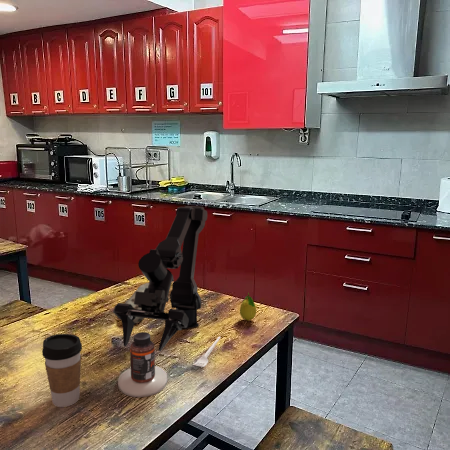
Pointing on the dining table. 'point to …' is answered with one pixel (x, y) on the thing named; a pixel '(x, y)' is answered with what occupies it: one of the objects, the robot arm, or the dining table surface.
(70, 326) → the dining table surface
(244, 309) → the lemon
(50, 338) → the coffee cup
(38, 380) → the dining table surface
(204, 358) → the fork
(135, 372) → the supplement bottle
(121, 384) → the beige flattened disc
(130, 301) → the elongated rock
